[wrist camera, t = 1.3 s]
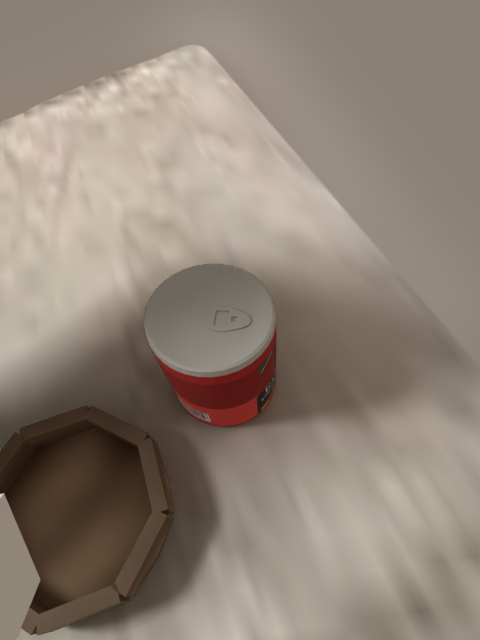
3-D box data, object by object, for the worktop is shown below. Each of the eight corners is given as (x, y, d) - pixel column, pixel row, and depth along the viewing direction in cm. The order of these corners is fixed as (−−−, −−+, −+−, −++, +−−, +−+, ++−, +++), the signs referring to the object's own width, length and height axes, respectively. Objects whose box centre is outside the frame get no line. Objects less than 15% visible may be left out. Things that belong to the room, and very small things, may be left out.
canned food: (283, 421, 33) (287, 361, 24) (180, 437, 33) (143, 382, 24) (267, 335, 37) (265, 253, 28) (174, 348, 37) (141, 271, 28)
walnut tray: (-47, 560, 30) (-77, 558, 27) (65, 398, 35) (49, 384, 33) (104, 663, 26) (86, 673, 24) (202, 467, 32) (196, 457, 29)
